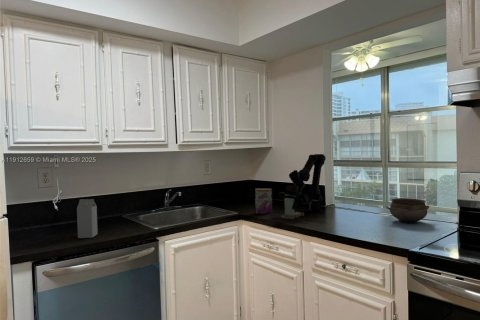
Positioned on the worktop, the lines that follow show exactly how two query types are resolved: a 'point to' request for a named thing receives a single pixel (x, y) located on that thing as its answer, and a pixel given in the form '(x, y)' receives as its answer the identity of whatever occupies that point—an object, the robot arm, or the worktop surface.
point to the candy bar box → (263, 201)
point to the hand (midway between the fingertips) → (288, 208)
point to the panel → (289, 206)
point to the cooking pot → (408, 209)
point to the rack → (292, 216)
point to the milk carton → (87, 218)
